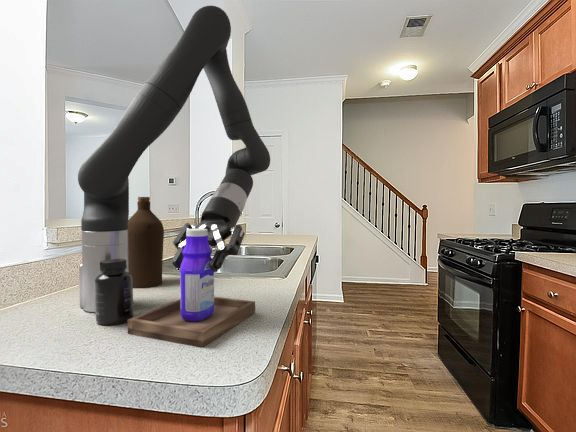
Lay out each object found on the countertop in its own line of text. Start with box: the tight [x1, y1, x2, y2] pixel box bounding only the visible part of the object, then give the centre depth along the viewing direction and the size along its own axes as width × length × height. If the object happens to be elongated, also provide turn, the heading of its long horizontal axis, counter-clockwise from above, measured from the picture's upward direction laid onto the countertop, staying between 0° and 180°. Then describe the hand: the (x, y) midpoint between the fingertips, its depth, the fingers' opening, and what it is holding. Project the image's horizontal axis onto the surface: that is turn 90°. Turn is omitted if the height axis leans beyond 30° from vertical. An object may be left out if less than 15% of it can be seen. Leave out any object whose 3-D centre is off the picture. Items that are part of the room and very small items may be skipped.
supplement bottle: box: [94, 259, 135, 326], centre depth 69 cm, size 7×7×12 cm
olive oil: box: [128, 196, 165, 289], centre depth 99 cm, size 11×11×25 cm
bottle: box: [179, 229, 215, 322], centre depth 68 cm, size 7×6×17 cm
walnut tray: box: [127, 296, 256, 348], centre depth 69 cm, size 16×19×2 cm
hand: (193, 267), depth 67 cm, fingers open, 8 cm apart
